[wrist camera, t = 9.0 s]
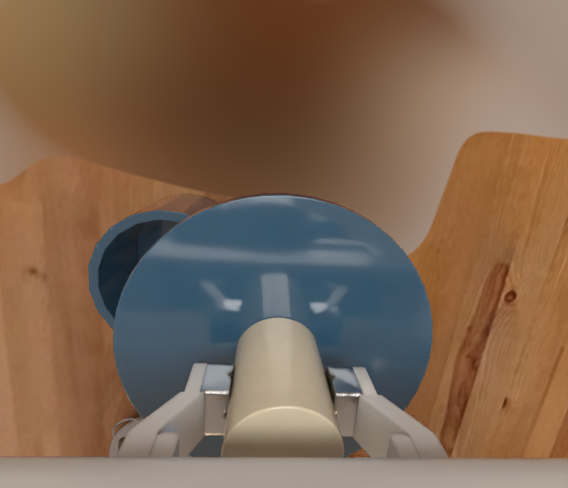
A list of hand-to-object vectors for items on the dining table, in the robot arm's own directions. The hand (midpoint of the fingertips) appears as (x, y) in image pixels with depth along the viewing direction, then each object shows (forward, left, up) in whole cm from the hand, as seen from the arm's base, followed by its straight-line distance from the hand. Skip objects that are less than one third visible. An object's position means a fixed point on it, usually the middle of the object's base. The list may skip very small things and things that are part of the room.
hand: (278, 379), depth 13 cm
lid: (0, 0, -2) cm, 2 cm away
